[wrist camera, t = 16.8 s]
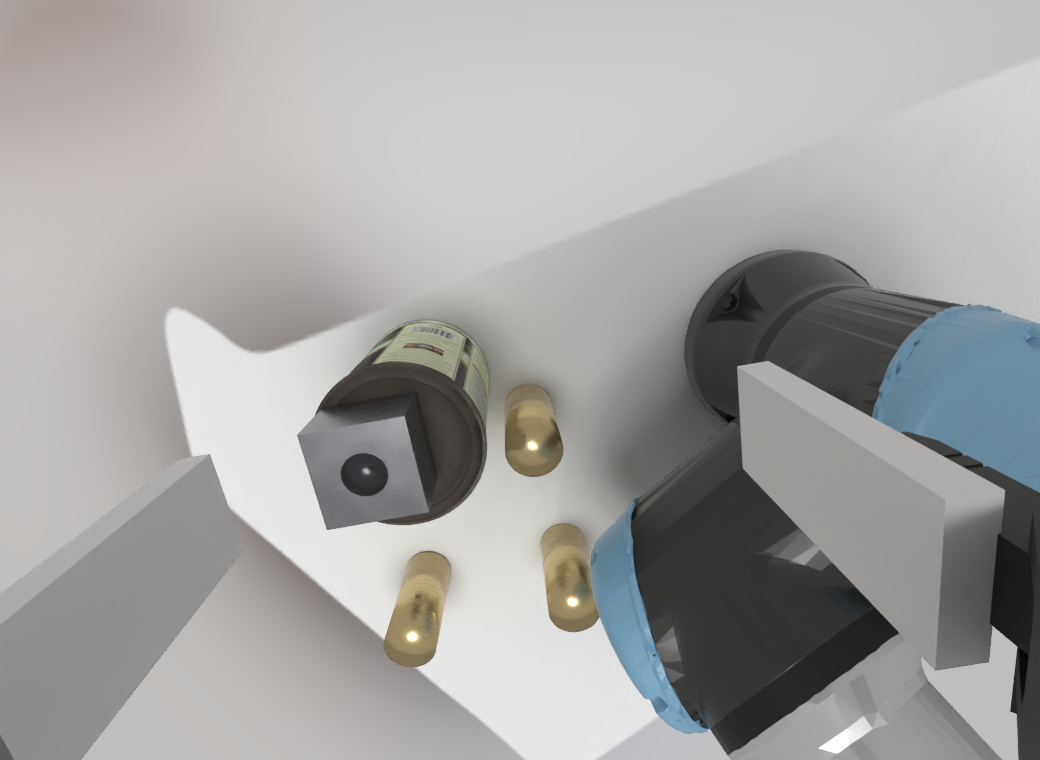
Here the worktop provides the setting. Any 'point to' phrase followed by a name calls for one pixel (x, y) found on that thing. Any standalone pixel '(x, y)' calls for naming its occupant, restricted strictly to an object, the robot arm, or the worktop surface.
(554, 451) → the brass spacer
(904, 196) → the worktop surface
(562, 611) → the brass spacer
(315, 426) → the grey square block
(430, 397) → the coffee can
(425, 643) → the brass spacer
